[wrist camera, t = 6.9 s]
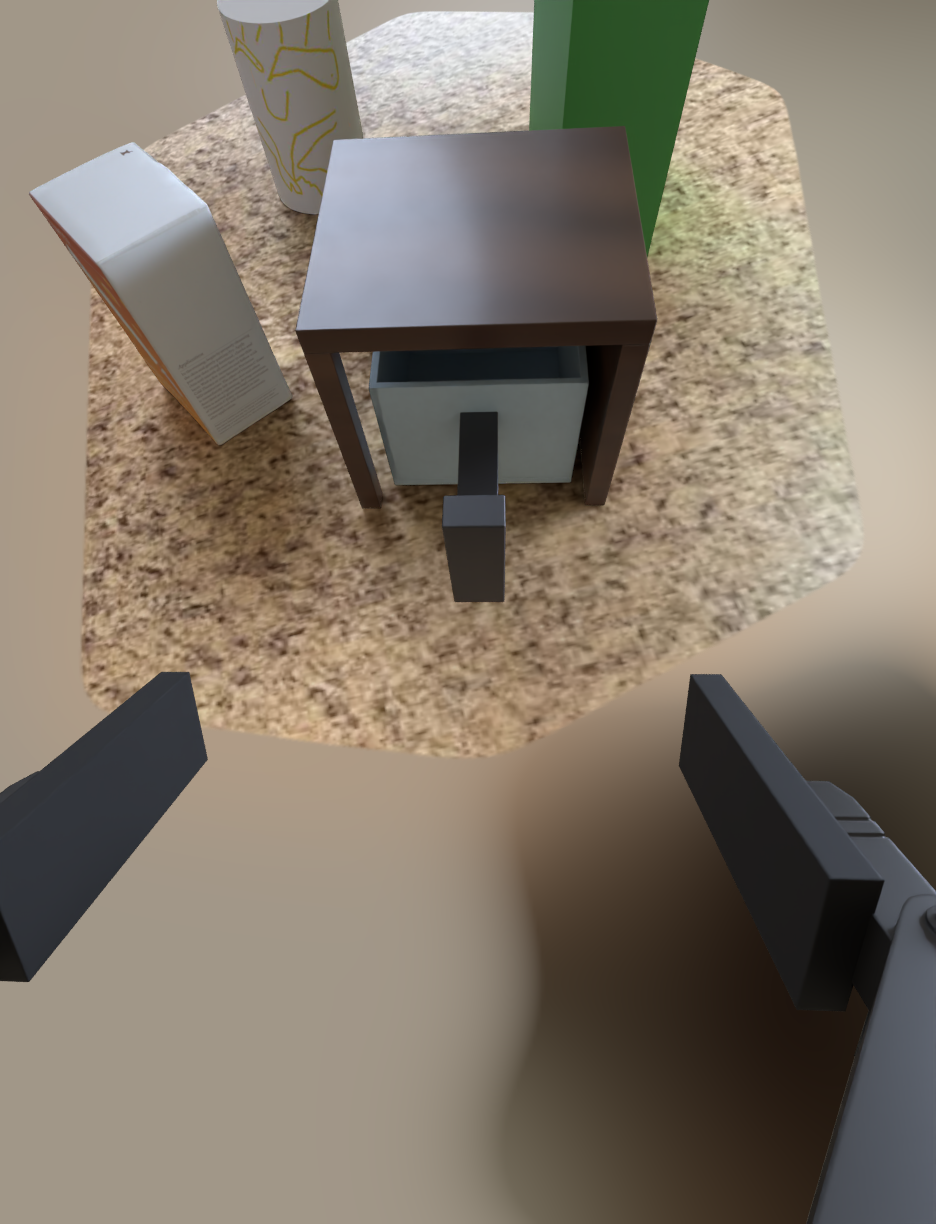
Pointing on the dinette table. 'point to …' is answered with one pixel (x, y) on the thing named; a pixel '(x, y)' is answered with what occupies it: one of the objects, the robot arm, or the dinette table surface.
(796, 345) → the dinette table surface
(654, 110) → the green and white box
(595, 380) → the cabinet
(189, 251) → the small box
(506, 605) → the dinette table surface
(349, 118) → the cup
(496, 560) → the drawer
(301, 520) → the dinette table surface
